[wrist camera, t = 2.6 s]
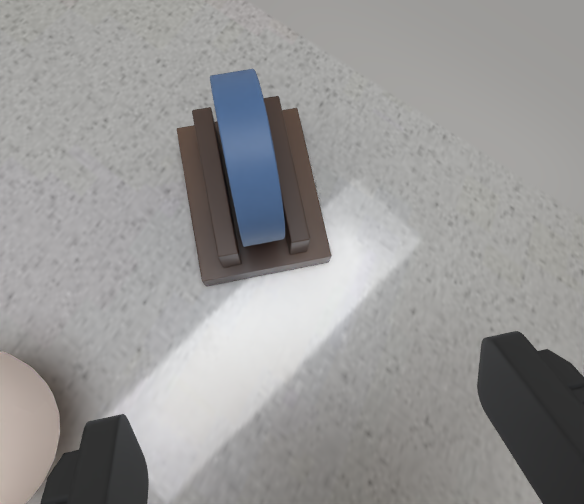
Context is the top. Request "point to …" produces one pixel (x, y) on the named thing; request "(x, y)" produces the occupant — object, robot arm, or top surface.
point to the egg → (25, 430)
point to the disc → (249, 156)
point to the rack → (220, 208)
